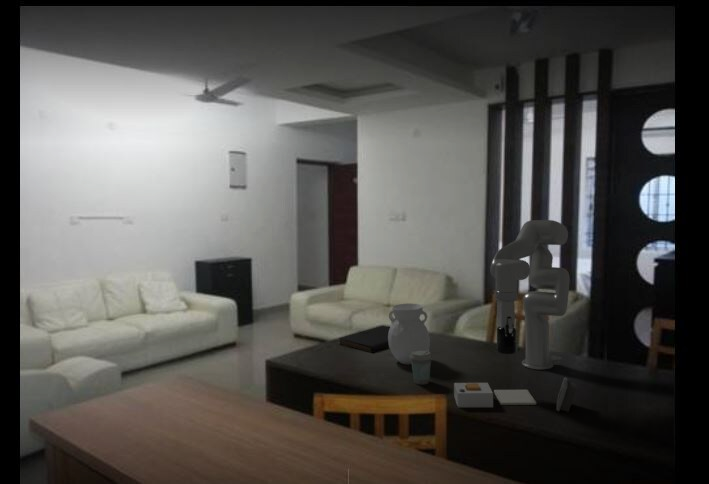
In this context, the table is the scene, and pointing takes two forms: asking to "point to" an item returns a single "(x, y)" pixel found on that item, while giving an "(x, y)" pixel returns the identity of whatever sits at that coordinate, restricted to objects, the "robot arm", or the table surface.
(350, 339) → the file folder
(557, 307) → the robot arm
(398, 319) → the grey vase
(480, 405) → the box
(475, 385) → the button
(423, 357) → the coffee cup
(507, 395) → the pad
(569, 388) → the electrical switch
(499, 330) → the supplement bottle
